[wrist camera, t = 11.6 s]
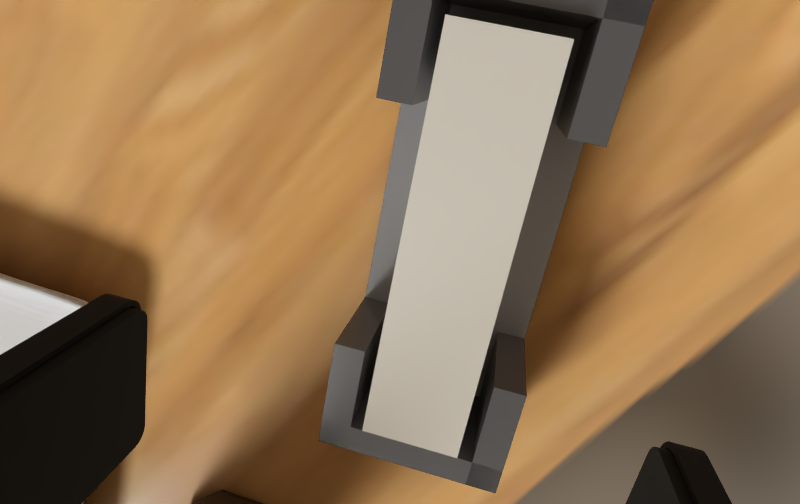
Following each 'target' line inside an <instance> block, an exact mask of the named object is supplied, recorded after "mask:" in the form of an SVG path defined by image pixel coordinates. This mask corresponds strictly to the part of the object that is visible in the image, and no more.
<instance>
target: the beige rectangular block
mask: <svg viewBox="0 0 800 504" xmlns="http://www.w3.org/2000/svg"><path fill="white" fill-rule="evenodd" d="M573 42H574V39H571V38H566V37H561V36H556V35H551V34H545V33H540V32H535V31H530V30H525V29H519V28H514V27H509V26H504V25H498V24H493V23H488V22H483V21H478V20H472V19H467V18H462V17H457V16H452V15H446V14H445V19H444V24H443V29H442V34H441V39H440V44H439V49H438V54H437V59H436V64H435V69H434V74H433V79H432V84H431V89H430V94H429V99H428V104H427V109H426V114H425V119H424V124H423V129H422V134H421V139H420V144H419V149H418V154H417V159H416V164H415V169H414V174H413V179H412V184H411V189H410V194H409V199H408V204H407V209H406V214H405V219H404V224H403V229H402V234H401V239H400V244H399V249H398V254H397V259H396V264H395V269H394V274H393V279H392V284H391V289H390V294H389V299H388V304H387V309H386V314H385V319H384V324H383V329H382V334H381V339H380V344H379V349H378V354H377V359H376V364H375V369H374V374H373V379H372V384H371V389H370V394H369V399H368V404H367V409H366V414H365V419H364V424H363V429H362V431H365V432H369V433H372V434H375V435H379V436H382V437H386V438H389V439H393V440H396V441H399V442H403V443H406V444H410V445H413V446H417V447H420V448H424V449H427V450H430V451H434V452H437V453H441V454H444V455H448V456H451V457H454V458H457V457H458V453H459V450H460V446H461V443H462V439H463V436H464V432H465V428H466V425H467V421H468V418H469V414H470V410H471V407H472V403H473V400H474V396H475V393H476V389H477V385H478V382H479V378H480V375H481V371H482V368H483V364H484V360H485V357H486V353H487V350H488V346H489V342H490V339H491V335H492V332H493V328H494V325H495V321H496V317H497V314H498V310H499V307H500V303H501V300H502V296H503V292H504V289H505V285H506V282H507V278H508V274H509V271H510V267H511V264H512V260H513V257H514V253H515V249H516V246H517V242H518V239H519V235H520V232H521V228H522V224H523V221H524V217H525V214H526V210H527V206H528V203H529V199H530V196H531V192H532V189H533V185H534V181H535V178H536V174H537V171H538V167H539V164H540V160H541V156H542V153H543V149H544V146H545V142H546V138H547V135H548V131H549V128H550V124H551V121H552V117H553V113H554V110H555V106H556V103H557V99H558V96H559V92H560V88H561V85H562V81H563V78H564V74H565V70H566V67H567V63H568V60H569V56H570V53H571V49H572V45H573Z"/></svg>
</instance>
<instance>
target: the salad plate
mask: <svg viewBox="0 0 800 504" xmlns="http://www.w3.org/2000/svg"><path fill="white" fill-rule="evenodd" d="M88 303H89V302H87V301H85V300H82V299H79V298H76V297H73V296H70V295H67V294H64V293H61V292H57V291H54V290H51V289H48V288H45V287H41V286H38V285H35V284H32V283H29V282H26V281H23V280H20V279H16V278H13V277H10V276H7V275H4V274H2V273H0V355H1V354H2V353H4V352H6V351H7V350H9V349H11V348H13V347H14V346H16V345H18V344H19V343H21V342H23V341H25V340H26V339H28V338H30V337H31V336H33V335H35V334H36V333H38V332H40V331H42V330H43V329H45V328H47V327H48V326H50V325H52V324H54V323H55V322H57V321H59V320H60V319H62V318H64V317H65V316H67V315H69V314H71V313H72V312H74V311H76V310H77V309H79V308H81V307H83V306H84V305H86V304H88ZM81 504H83V502H82V503H81Z"/></svg>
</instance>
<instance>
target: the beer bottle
mask: <svg viewBox="0 0 800 504" xmlns="http://www.w3.org/2000/svg"><path fill="white" fill-rule="evenodd" d="M192 504H260V503H257V502H255V501H252V500H249V499H246V498H243V497H240V496H237V495H234V494H231V493H228V492H225V491H220V492H217V493H215V494H213V495H211V496H208V497H206V498H204V499H201V500H199V501H197V502H195V503H192Z"/></svg>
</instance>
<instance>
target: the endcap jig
mask: <svg viewBox="0 0 800 504" xmlns="http://www.w3.org/2000/svg"><path fill="white" fill-rule="evenodd" d="M652 3H653V0H393V2H392V8H391V14H390V20H389V26H388V32H387V38H386V43H385V49H384V55H383V61H382V67H381V73H380V79H379V85H378V91H377V97H376V98H380V99H385V100H390V101H394V102H399V103H401V107H400V112H399V117H398V123H397V128H396V134H395V139H394V144H393V150H392V155H391V161H390V166H389V172H388V177H387V182H386V188H385V193H384V199H383V204H382V209H381V215H380V220H379V226H378V231H377V237H376V242H375V247H374V253H373V258H372V264H371V269H370V274H369V280H368V285H367V291H366V296H365V298H364V300H363V301H362V303H361V304H360V306H359V308H358V309H357V311H356V312H355V314H354V315H353V317H352V318H351V320H350V321H349V323H348V324H347V326H346V327H345V329H344V330H343V332H342V333H341V335H340V337H339V338H338V340H337V341H336V343H335V346H334V352H333V357H332V363H331V369H330V375H329V381H328V387H327V393H326V399H325V405H324V411H323V417H322V423H321V429H320V435H319V440H318V441H321V442H325V443H328V444H331V445H335V446H338V447H341V448H345V449H348V450H352V451H355V452H358V453H362V454H365V455H368V456H372V457H375V458H378V459H382V460H385V461H388V462H392V463H395V464H399V465H402V466H405V467H409V468H412V469H415V470H419V471H422V472H425V473H429V474H432V475H435V476H439V477H442V478H446V479H449V480H452V481H456V482H459V483H462V484H466V485H469V486H472V487H476V488H479V489H482V490H486V491H489V492H493V493H496V490H497V487H498V484H499V481H500V478H501V475H502V471H503V468H504V465H505V462H506V459H507V456H508V453H509V450H510V446H511V443H512V440H513V437H514V434H515V431H516V428H517V425H518V421H519V418H520V415H521V412H522V409H523V406H524V403H525V400H526V397H527V394H526V368H525V343H524V338H525V335H526V332H527V328H528V325H529V322H530V318H531V315H532V312H533V309H534V305H535V302H536V299H537V296H538V292H539V289H540V286H541V282H542V279H543V276H544V273H545V269H546V266H547V263H548V260H549V256H550V253H551V250H552V246H553V243H554V240H555V237H556V233H557V230H558V227H559V223H560V220H561V217H562V214H563V210H564V207H565V204H566V201H567V197H568V194H569V191H570V187H571V184H572V181H573V178H574V174H575V171H576V168H577V165H578V161H579V158H580V155H581V151H582V148H583V145H584V142H585V143H589V144H594V145H599V146H603V147H607V144H608V140H609V137H610V134H611V131H612V128H613V125H614V122H615V119H616V115H617V112H618V109H619V106H620V103H621V100H622V97H623V94H624V90H625V87H626V84H627V81H628V78H629V75H630V72H631V69H632V65H633V62H634V59H635V56H636V53H637V50H638V47H639V44H640V40H641V37H642V34H643V31H644V28H645V25H646V22H647V19H648V15H649V12H650V9H651V6H652ZM445 14H446V15H452V16H457V17H462V18H467V19H472V20H478V21H483V22H488V23H493V24H498V25H504V26H509V27H514V28H519V29H525V30H530V31H535V32H540V33H545V34H551V35H556V36H561V37H566V38H571V39H574V42H573V45H572V49H571V53H570V56H569V60H568V63H567V67H566V70H565V74H564V78H563V81H562V85H561V88H560V92H559V96H558V99H557V103H556V106H555V110H554V113H553V117H552V121H551V124H550V128H549V131H548V135H547V138H546V142H545V146H544V149H543V153H542V156H541V160H540V164H539V167H538V171H537V174H536V178H535V181H534V185H533V189H532V192H531V196H530V199H529V203H528V206H527V210H526V214H525V217H524V221H523V224H522V228H521V232H520V235H519V239H518V242H517V246H516V249H515V253H514V257H513V260H512V264H511V267H510V271H509V274H508V278H507V282H506V285H505V289H504V292H503V296H502V300H501V303H500V307H499V310H498V314H497V317H496V321H495V325H494V328H493V332H492V335H491V339H490V342H489V346H488V350H487V353H486V357H485V360H484V364H483V368H482V371H481V375H480V378H479V382H478V385H477V389H476V393H475V396H474V400H473V403H472V407H471V410H470V414H469V418H468V421H467V425H466V428H465V432H464V436H463V439H462V443H461V446H460V450H459V453H458V457H457V458H454V457H451V456H448V455H444V454H441V453H437V452H434V451H430V450H427V449H424V448H420V447H417V446H413V445H410V444H406V443H403V442H399V441H396V440H393V439H389V438H386V437H382V436H379V435H375V434H372V433H369V432H365V431H362V429H363V424H364V419H365V414H366V409H367V404H368V399H369V394H370V389H371V384H372V379H373V374H374V369H375V364H376V359H377V354H378V349H379V344H380V339H381V334H382V329H383V324H384V319H385V314H386V309H387V304H388V299H389V294H390V289H391V284H392V279H393V274H394V269H395V264H396V259H397V254H398V249H399V244H400V239H401V234H402V229H403V224H404V219H405V214H406V209H407V204H408V199H409V194H410V189H411V184H412V179H413V174H414V169H415V164H416V159H417V154H418V149H419V144H420V139H421V134H422V129H423V124H424V119H425V114H426V109H427V104H428V99H429V94H430V89H431V84H432V79H433V74H434V69H435V64H436V59H437V54H438V49H439V44H440V39H441V34H442V29H443V24H444V19H445Z"/></svg>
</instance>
